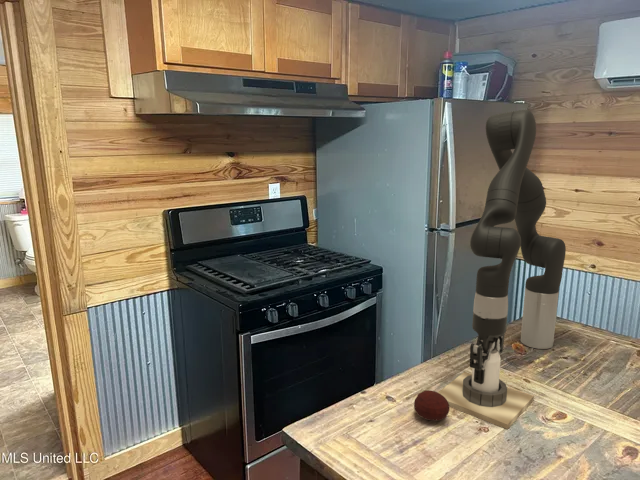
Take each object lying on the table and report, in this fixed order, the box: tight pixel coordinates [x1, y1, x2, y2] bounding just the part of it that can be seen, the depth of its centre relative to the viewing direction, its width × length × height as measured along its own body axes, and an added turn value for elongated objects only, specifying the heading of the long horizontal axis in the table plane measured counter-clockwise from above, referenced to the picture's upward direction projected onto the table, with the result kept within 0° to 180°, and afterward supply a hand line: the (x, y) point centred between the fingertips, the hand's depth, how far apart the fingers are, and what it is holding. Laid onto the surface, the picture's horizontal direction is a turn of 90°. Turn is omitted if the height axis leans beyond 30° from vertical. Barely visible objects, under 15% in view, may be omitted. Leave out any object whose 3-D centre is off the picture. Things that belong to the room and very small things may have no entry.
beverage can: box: [471, 348, 501, 393], centre depth 118 cm, size 6×6×12 cm
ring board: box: [438, 371, 535, 430], centre depth 119 cm, size 16×18×4 cm
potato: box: [413, 389, 450, 421], centre depth 112 cm, size 7×8×6 cm
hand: (485, 376), depth 118 cm, fingers open, 6 cm apart
